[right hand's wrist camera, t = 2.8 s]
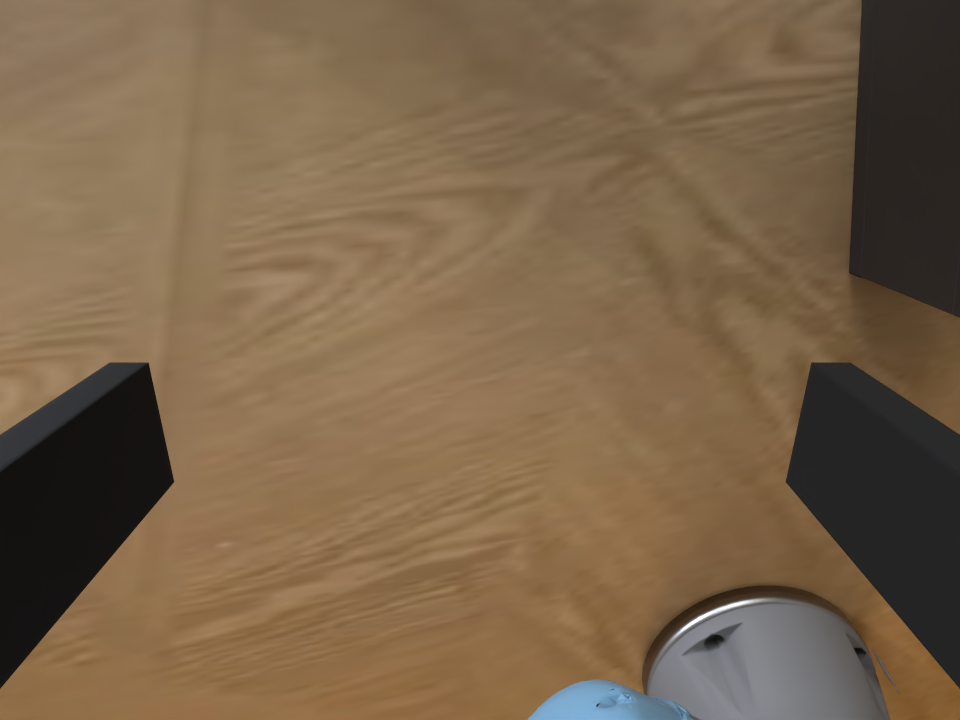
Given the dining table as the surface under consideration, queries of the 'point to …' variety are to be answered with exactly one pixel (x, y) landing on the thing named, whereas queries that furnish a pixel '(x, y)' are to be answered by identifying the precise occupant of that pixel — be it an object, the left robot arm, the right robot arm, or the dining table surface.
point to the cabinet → (909, 150)
